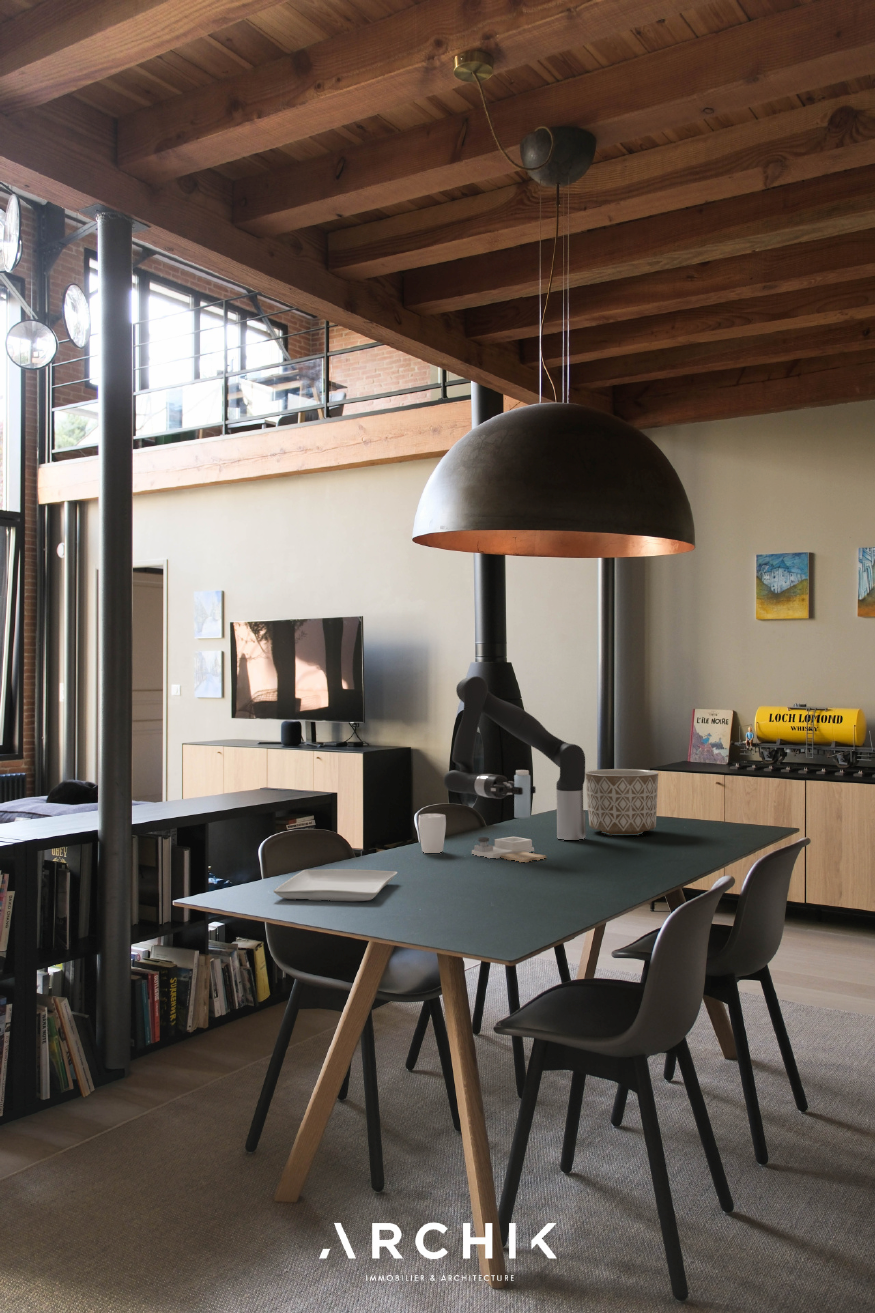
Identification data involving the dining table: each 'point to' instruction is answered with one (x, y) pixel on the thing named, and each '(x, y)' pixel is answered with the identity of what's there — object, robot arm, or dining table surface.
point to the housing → (504, 847)
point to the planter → (622, 800)
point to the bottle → (522, 800)
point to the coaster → (523, 856)
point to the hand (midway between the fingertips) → (528, 790)
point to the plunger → (483, 841)
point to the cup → (432, 832)
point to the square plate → (335, 884)
